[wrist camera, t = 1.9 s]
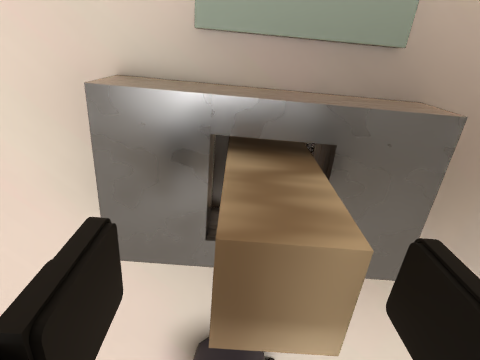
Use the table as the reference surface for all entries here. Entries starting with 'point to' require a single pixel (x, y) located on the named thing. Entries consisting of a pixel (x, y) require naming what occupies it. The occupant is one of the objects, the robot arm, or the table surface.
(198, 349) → the speaker
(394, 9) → the pad
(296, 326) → the peg
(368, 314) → the table surface
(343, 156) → the plate with square hole
